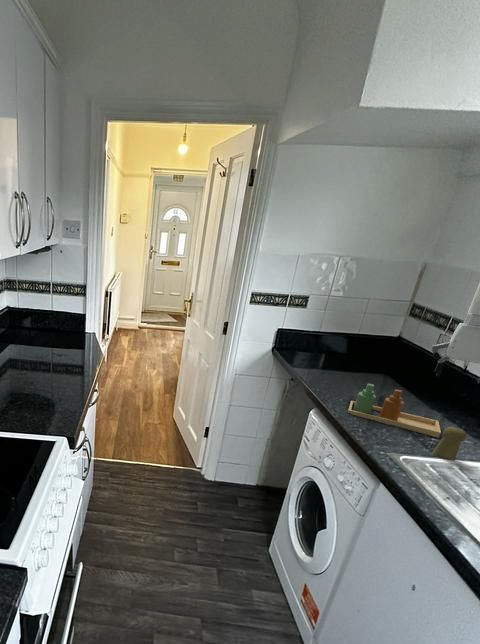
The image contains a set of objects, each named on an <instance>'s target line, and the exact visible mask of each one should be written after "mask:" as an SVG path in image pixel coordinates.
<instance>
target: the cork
mask: <svg viewBox="0 0 480 644" xmlns="http://www.w3.org/2000/svg"><path fill="white" fill-rule="evenodd" d="M442 435H443V436H442V438H441V439H440V441H439V442H438V443H437V445H436V446H435V447H434V449H433V450H432V451H431V453H430V454H431V455H433V456H437V457H439V458H441V459H446V460H452V461H456V458H457V455H458V452H459V449H460V445H461V443H462V442H464V441H465V440H466V439H467V433H466V431H465V430H463V429H461V428H459V427H456V426H448V427H445V428H444V429H443V431H442Z"/></svg>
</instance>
